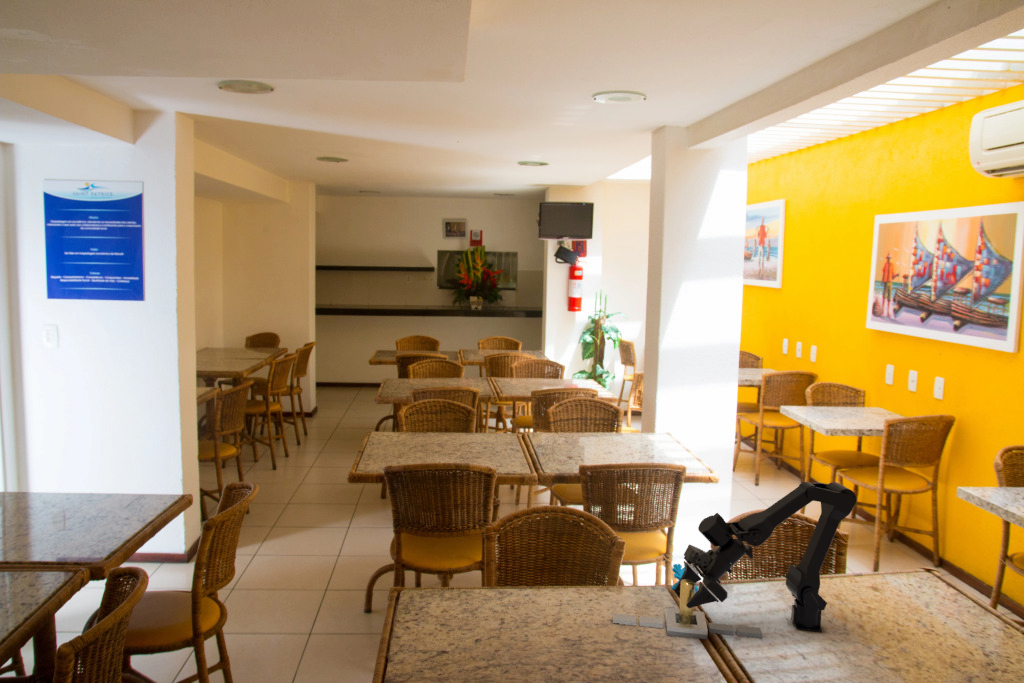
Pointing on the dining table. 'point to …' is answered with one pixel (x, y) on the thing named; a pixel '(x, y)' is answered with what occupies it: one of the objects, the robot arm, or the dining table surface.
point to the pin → (686, 601)
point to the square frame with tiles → (687, 625)
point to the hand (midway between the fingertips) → (681, 598)
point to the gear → (679, 575)
